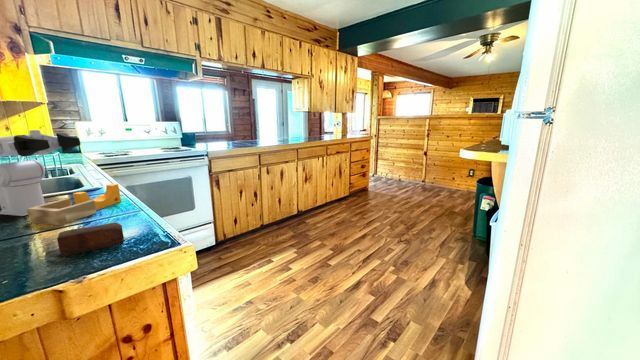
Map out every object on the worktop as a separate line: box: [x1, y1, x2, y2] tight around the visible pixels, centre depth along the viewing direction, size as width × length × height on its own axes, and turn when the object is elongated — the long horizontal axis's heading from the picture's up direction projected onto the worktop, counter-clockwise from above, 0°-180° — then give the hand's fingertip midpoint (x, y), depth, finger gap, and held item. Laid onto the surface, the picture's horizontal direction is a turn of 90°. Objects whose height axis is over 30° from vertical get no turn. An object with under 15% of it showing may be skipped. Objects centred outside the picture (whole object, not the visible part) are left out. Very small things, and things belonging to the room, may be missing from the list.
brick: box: [56, 222, 125, 257], centre depth 57 cm, size 11×4×5 cm, turn 129°
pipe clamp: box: [72, 183, 122, 211], centre depth 82 cm, size 12×4×6 cm, turn 169°
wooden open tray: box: [27, 197, 98, 226], centre depth 74 cm, size 10×10×4 cm
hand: (63, 142), depth 71 cm, fingers open, 7 cm apart
